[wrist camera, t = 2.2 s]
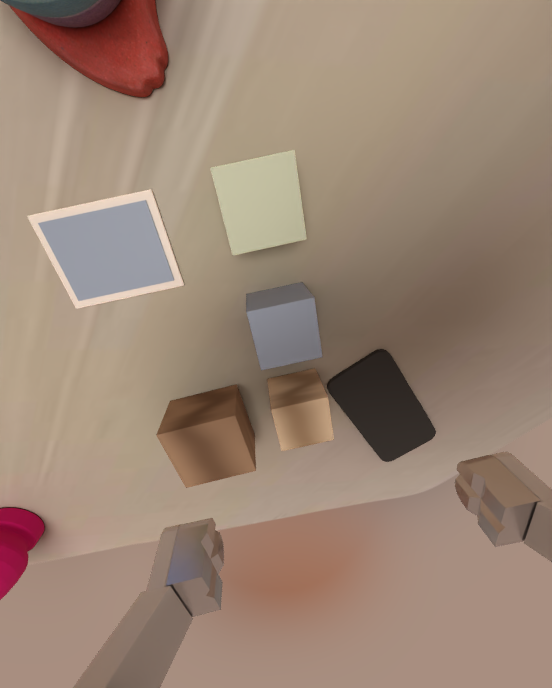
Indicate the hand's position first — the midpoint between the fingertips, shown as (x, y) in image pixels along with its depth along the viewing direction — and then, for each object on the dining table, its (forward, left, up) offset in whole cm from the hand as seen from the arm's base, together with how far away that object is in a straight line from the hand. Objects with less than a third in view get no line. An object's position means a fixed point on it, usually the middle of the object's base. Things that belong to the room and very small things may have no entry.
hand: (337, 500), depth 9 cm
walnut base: (+9, +10, -19) cm, 23 cm away
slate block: (0, 0, -18) cm, 18 cm away
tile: (+12, -8, -18) cm, 23 cm away
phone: (-10, +14, -19) cm, 25 cm away
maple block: (0, +9, -18) cm, 21 cm away
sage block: (0, -9, -18) cm, 21 cm away
